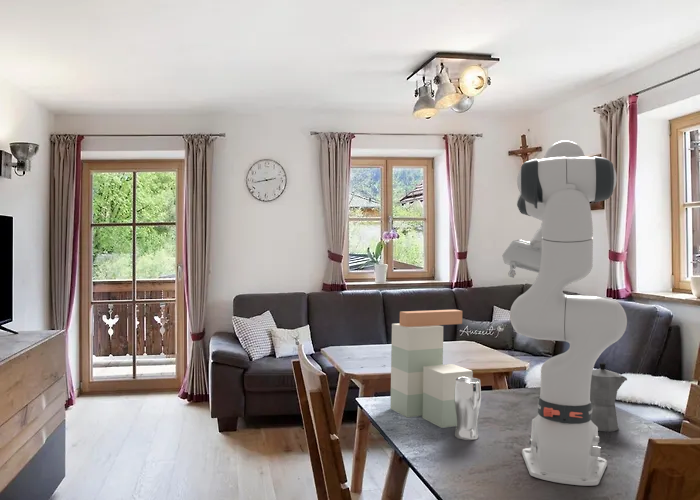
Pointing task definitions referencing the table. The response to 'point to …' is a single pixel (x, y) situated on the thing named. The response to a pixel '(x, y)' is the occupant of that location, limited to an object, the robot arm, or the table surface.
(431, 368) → the short tower
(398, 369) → the tall tower
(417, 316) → the long brick
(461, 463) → the table surface
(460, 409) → the beer glass
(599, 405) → the coffeepot
